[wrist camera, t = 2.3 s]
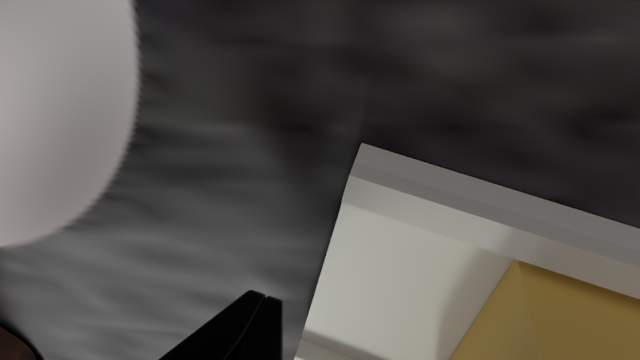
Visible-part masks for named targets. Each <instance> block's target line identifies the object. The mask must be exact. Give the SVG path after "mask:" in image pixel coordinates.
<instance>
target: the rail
mask: <svg viewBox="0 0 640 360" xmlns="http://www.w3.org/2000/svg"><path fill="white" fill-rule="evenodd" d="M341 202H342V204H341V208H340V211H339V214H338V218H337V221H336V224H335V227H334V231H333V234H332V237H331V241H330V244H329V247H328V251H327V254H326V257H325V261H324V264H323V267H322V271H321V274H320V277H319V281H318V284H317V287H316V290H315V294H314V297H313V300H312V304H311V307H310V310H309V314H308V317H307V320H306V324H305V327H304V330H303V334H302V337H301V340H300V343H299V346H298V349H297V352H296V355H295V358H294V360H449V359H450V357H451V356H452V354H453V353H454V351H455V350H456V348H457V347H458V345H459V343H460V342H461V340H462V339H463V337H464V336H465V334H466V333H467V331H468V330H469V328H470V326H471V325H472V323H473V322H474V320H475V319H476V317H477V316H478V314H479V312H480V311H481V309H482V308H483V306H484V305H485V303H486V302H487V300H488V299H489V297H490V295H491V294H492V292H493V291H494V289H495V288H496V286H497V285H498V283H499V281H500V280H501V278H502V277H503V275H504V274H505V272H506V271H507V269H508V267H509V266H510V264H511V263H512V261H513V260H514V259H517V260H520V261H523V262H526V263H529V264H532V265H535V266H539V267H542V268H545V269H548V270H551V271H554V272H557V273H560V274H563V275H566V276H569V277H572V278H575V279H579V280H582V281H585V282H588V283H591V284H594V285H597V286H600V287H603V288H606V289H609V290H612V291H615V292H619V293H622V294H625V295H628V296H631V297H634V298H637V299H640V229H639V228H636V227H632V226H629V225H626V224H623V223H619V222H616V221H613V220H610V219H606V218H603V217H600V216H597V215H594V214H590V213H587V212H584V211H581V210H577V209H574V208H571V207H568V206H564V205H561V204H558V203H555V202H552V201H548V200H545V199H542V198H539V197H535V196H532V195H529V194H526V193H522V192H519V191H516V190H513V189H510V188H506V187H503V186H500V185H497V184H493V183H490V182H487V181H484V180H480V179H477V178H474V177H471V176H468V175H464V174H461V173H458V172H455V171H451V170H448V169H445V168H442V167H438V166H435V165H432V164H429V163H426V162H422V161H419V160H416V159H413V158H409V157H406V156H403V155H400V154H396V153H393V152H390V151H387V150H384V149H380V148H377V147H374V146H371V145H367V144H364V143H361V145H360V148H359V151H358V153H357V156H356V159H355V161H354V164H353V167H352V169H351V172H350V175H349V178H348V181H347V184H346V188H345V191H344V194H343V198H342V201H341Z"/></svg>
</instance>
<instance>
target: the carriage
mask: <svg viewBox="0 0 640 360" xmlns="http://www.w3.org/2000/svg"><path fill="white" fill-rule="evenodd" d="M449 360H640V299H637V298H634V297H631V296H628V295H625V294H622V293H619V292H615V291H612V290H609V289H606V288H603V287H600V286H597V285H594V284H591V283H588V282H585V281H582V280H579V279H575V278H572V277H569V276H566V275H563V274H560V273H557V272H554V271H551V270H548V269H545V268H542V267H539V266H535V265H532V264H529V263H526V262H523V261H520V260H517V259H514V260H513V261H512V263H511V264H510V266H509V267H508V269H507V271H506V272H505V274H504V275H503V277H502V278H501V280H500V281H499V283H498V285H497V286H496V288H495V289H494V291H493V292H492V294H491V295H490V297H489V299H488V300H487V302H486V303H485V305H484V306H483V308H482V309H481V311H480V312H479V314H478V316H477V317H476V319H475V320H474V322H473V323H472V325H471V326H470V328H469V330H468V331H467V333H466V334H465V336H464V337H463V339H462V340H461V342H460V343H459V345H458V347H457V348H456V350H455V351H454V353H453V354H452V356H451V357H450V359H449Z"/></svg>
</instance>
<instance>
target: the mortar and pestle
mask: <svg viewBox="0 0 640 360" xmlns="http://www.w3.org/2000/svg"><path fill="white" fill-rule="evenodd" d="M0 360H36V358H35V356H34V353H33V352H32V351H31V350H30V348H29V347H28V346H26V345H25V344H24V343H23V342H22V341H21V340H20V339H18V338H17V337H16V336H14V335H12V334H10V333H9V332H7V331H6V330H5V329H3V328H2V327H1V326H0Z"/></svg>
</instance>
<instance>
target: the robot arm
mask: <svg viewBox="0 0 640 360" xmlns="http://www.w3.org/2000/svg"><path fill="white" fill-rule="evenodd" d="M159 360H283V301H282V300H279V299H276V298H274V297H271V296H267V297H266V296H265V295H264V294H262V293H259V292H257V291H254V290H249V291H247V292H246V293H244V294H243V295H242V296H241V297H239V298H238V299H237V300H235V301H234V302H233V303H231V304H230V305H229V306H228V307H226V308H225V309H224V310H222V311H221V312H220V313H218V314H217V315H216V316H215V317H213V318H212V319H211V320H209V321H208V322H207V323H205V324H204V325H203V326H201V327H200V328H199V329H198V330H196V331H195V332H194V333H192V334H191V335H190V336H188V337H187V338H186V339H185V340H183V341H182V342H181V343H179V344H178V345H177V346H175V347H174V348H173V349H172V350H170V351H169V352H168V353H166V354H165V355H164V356H162V357H161V358H160V359H159Z"/></svg>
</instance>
